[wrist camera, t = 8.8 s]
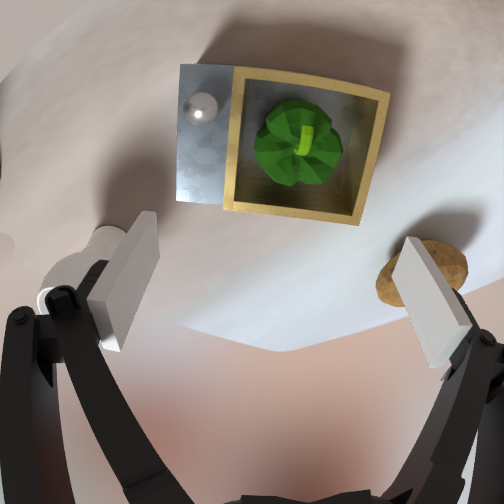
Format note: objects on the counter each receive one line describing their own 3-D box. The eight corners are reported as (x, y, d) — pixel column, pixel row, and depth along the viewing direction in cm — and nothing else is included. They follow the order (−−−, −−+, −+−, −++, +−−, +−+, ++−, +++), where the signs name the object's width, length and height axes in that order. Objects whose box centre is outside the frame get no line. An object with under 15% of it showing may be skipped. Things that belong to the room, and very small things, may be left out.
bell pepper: (307, 178, 37) (319, 218, 28) (244, 146, 35) (236, 176, 27) (345, 119, 32) (371, 142, 24) (280, 82, 31) (285, 90, 22)
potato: (364, 241, 42) (379, 277, 36) (452, 219, 39) (478, 250, 33) (370, 293, 47) (382, 330, 41) (449, 271, 44) (469, 304, 38)
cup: (92, 204, 41) (35, 267, 28) (156, 238, 44) (117, 313, 31) (77, 255, 46) (32, 321, 34) (133, 286, 49) (100, 359, 36)
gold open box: (190, 176, 38) (171, 209, 31) (196, 63, 31) (174, 64, 23) (343, 194, 39) (361, 230, 31) (365, 85, 31) (394, 94, 23)
